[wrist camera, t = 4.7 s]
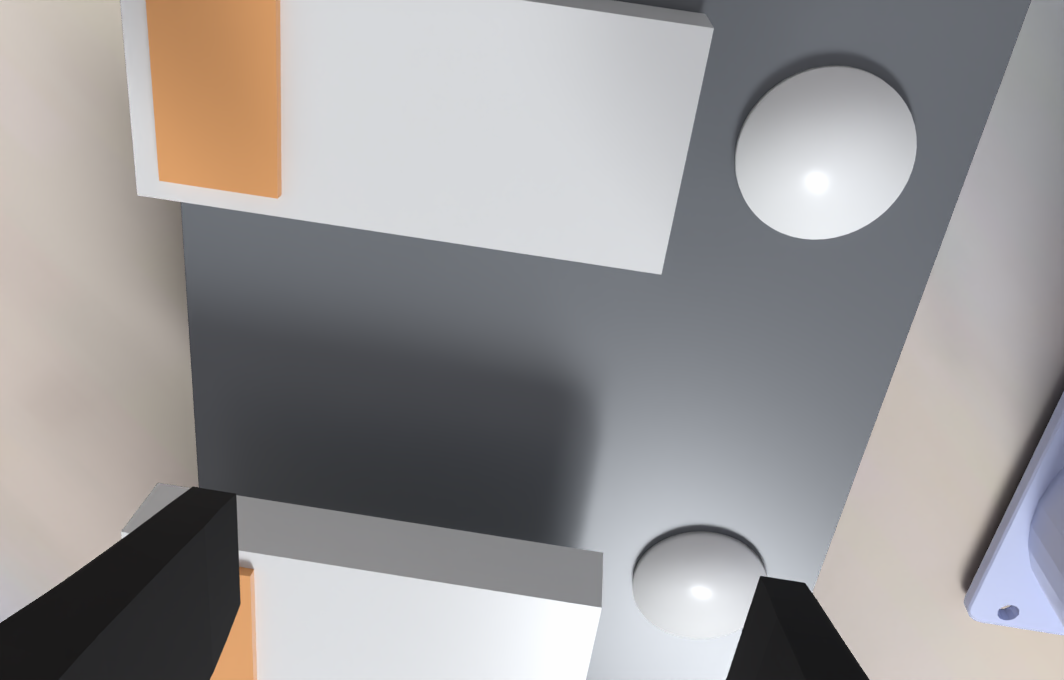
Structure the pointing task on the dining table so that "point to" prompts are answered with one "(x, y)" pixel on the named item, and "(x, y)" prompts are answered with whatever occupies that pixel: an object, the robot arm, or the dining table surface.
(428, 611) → the switch on end
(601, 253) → the switch middle
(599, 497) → the switch panel
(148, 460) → the dining table surface
